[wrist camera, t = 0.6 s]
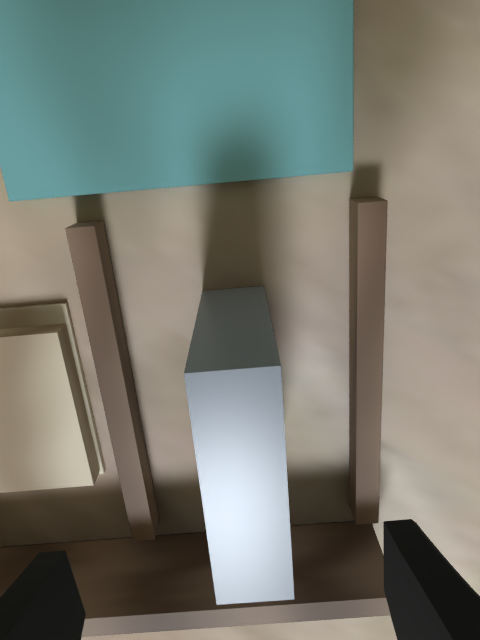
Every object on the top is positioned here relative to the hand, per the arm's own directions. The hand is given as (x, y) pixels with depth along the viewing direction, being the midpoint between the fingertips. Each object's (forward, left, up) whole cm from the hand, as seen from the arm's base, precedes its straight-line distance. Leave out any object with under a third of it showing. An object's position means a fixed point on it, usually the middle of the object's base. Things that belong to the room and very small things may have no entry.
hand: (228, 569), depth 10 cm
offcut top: (+8, +1, -9) cm, 12 cm away
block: (0, 0, -9) cm, 9 cm away
